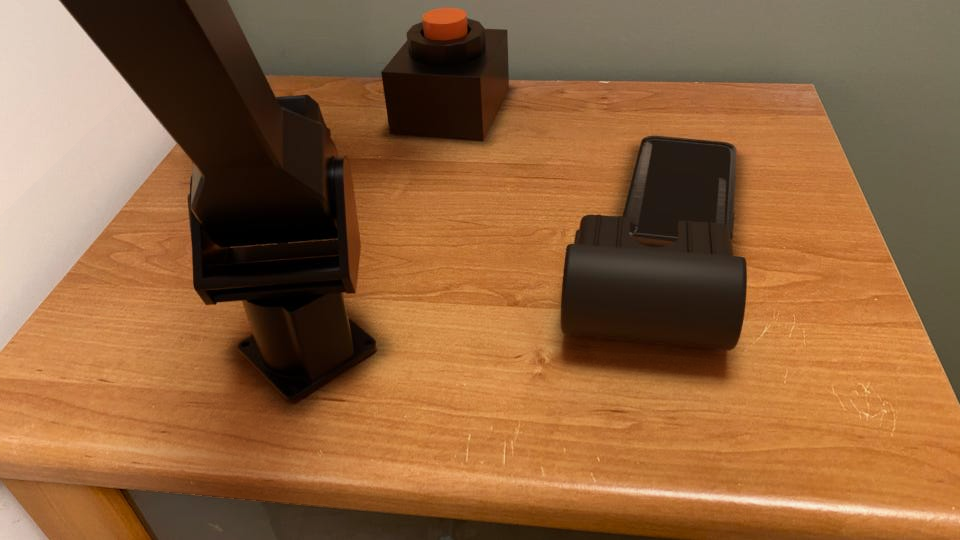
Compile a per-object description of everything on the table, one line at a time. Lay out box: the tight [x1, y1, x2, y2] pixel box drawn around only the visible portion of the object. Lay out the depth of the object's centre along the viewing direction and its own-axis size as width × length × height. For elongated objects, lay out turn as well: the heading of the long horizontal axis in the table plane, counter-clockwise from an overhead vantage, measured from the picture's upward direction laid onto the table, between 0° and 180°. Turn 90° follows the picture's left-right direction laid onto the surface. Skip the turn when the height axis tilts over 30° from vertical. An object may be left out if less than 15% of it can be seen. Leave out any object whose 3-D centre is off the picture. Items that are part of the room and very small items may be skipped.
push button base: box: [380, 17, 510, 142], centre depth 68 cm, size 11×9×8 cm
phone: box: [622, 135, 738, 247], centre depth 57 cm, size 8×1×15 cm
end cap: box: [559, 214, 748, 351], centre depth 44 cm, size 10×7×7 cm
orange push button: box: [421, 7, 468, 40], centre depth 66 cm, size 4×4×2 cm
